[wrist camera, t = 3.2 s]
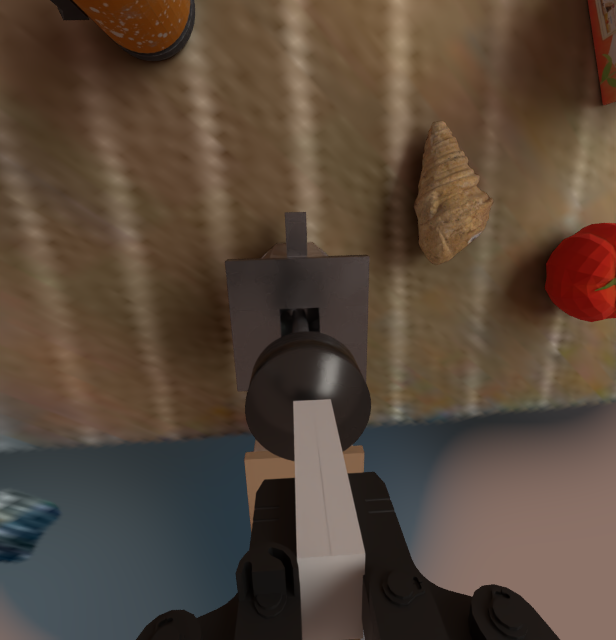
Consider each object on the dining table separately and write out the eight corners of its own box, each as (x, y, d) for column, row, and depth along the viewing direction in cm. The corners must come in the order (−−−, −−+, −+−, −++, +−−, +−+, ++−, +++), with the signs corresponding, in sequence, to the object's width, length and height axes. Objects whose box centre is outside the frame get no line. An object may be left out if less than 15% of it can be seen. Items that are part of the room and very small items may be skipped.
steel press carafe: (255, 327, 43) (237, 391, 28) (247, 213, 39) (220, 214, 24) (338, 324, 43) (365, 384, 28) (338, 211, 39) (370, 210, 24)
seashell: (383, 142, 38) (408, 124, 30) (455, 117, 37) (499, 92, 30) (411, 262, 42) (439, 273, 34) (477, 240, 41) (519, 246, 34)
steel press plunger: (260, 351, 32) (234, 480, 16) (254, 272, 29) (218, 337, 14) (338, 347, 32) (385, 471, 17) (338, 269, 30) (392, 329, 14)
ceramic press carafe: (265, 462, 49) (255, 575, 34) (259, 375, 45) (244, 459, 30) (338, 458, 49) (361, 568, 34) (338, 372, 45) (364, 452, 30)
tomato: (526, 316, 45) (580, 339, 36) (528, 229, 41) (588, 233, 33) (606, 301, 45) (679, 322, 36) (615, 214, 41) (697, 214, 33)
